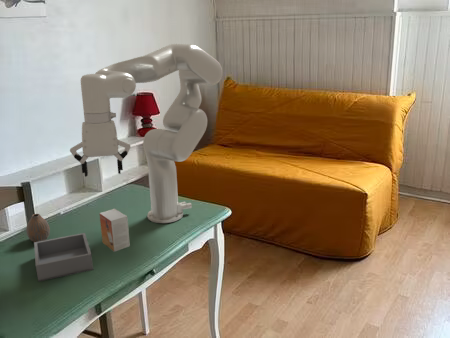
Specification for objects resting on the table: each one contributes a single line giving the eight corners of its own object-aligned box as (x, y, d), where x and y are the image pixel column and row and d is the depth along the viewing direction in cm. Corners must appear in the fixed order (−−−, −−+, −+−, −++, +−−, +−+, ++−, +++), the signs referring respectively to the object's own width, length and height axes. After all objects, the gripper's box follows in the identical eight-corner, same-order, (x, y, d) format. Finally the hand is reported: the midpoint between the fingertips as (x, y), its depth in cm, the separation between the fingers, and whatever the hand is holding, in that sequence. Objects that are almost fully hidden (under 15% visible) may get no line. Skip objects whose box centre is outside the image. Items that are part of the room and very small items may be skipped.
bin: (86, 247, 143) (84, 232, 142) (93, 269, 131) (91, 254, 129) (36, 257, 138) (34, 242, 136) (38, 281, 125) (35, 265, 124)
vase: (43, 245, 145) (39, 220, 142) (23, 244, 146) (19, 219, 143) (55, 235, 151) (51, 211, 148) (36, 234, 153) (32, 210, 150)
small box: (102, 243, 146) (98, 212, 142) (118, 237, 149) (115, 207, 146) (114, 252, 140) (110, 221, 136) (130, 246, 143) (127, 215, 140)
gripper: (127, 113, 139) (131, 167, 144) (67, 116, 135) (73, 172, 140) (128, 118, 132) (132, 175, 137) (65, 122, 128) (72, 180, 133)
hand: (103, 173), depth 138 cm, fingers open, 9 cm apart
